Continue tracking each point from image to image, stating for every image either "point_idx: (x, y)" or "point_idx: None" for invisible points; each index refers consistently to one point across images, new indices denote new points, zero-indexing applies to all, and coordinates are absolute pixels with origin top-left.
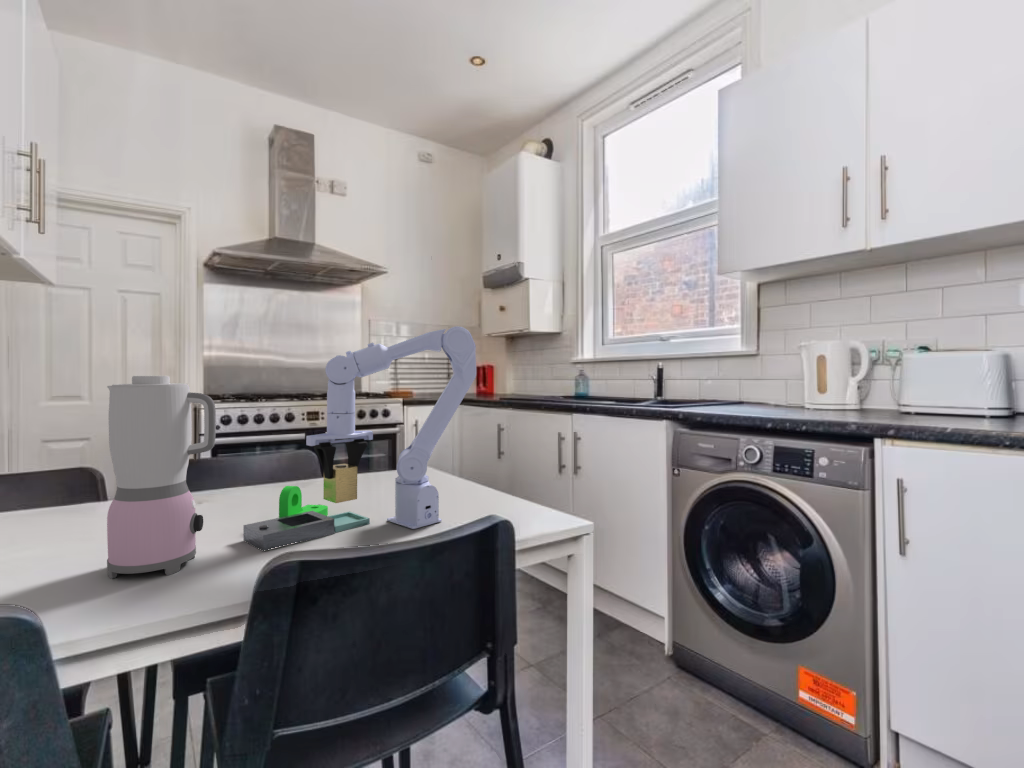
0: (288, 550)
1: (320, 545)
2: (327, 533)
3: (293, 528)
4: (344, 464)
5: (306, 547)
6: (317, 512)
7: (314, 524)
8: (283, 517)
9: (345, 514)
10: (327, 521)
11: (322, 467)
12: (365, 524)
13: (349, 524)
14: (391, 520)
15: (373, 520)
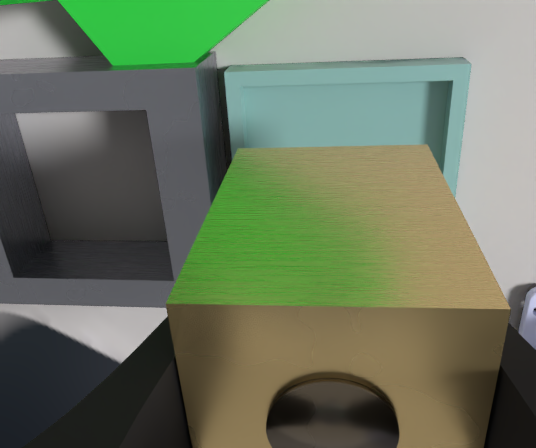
0: (25, 309)
1: (135, 342)
2: None
3: (18, 303)
4: (454, 360)
5: (87, 326)
6: (260, 5)
7: (120, 302)
8: (2, 91)
9: (427, 77)
10: None
11: (118, 369)
12: None
13: None
14: (522, 329)
15: (498, 224)
